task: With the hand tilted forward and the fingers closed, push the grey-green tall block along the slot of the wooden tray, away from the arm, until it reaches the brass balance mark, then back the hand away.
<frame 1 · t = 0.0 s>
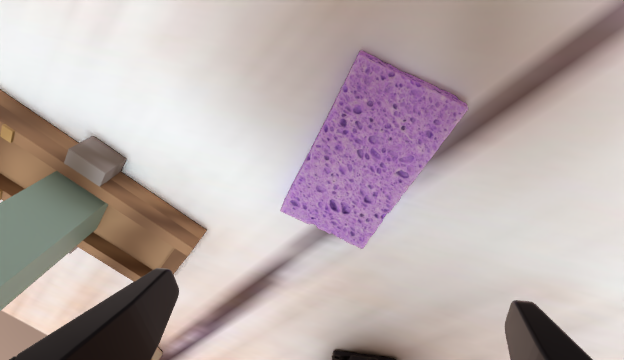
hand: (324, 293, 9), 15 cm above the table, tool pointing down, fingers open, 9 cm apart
grey-green tall block: (7, 251, 23), point 8 cm above the table, slide at 0.0 cm
wooden tray: (91, 191, 30), on the table
sponges: (363, 153, 24), on the table
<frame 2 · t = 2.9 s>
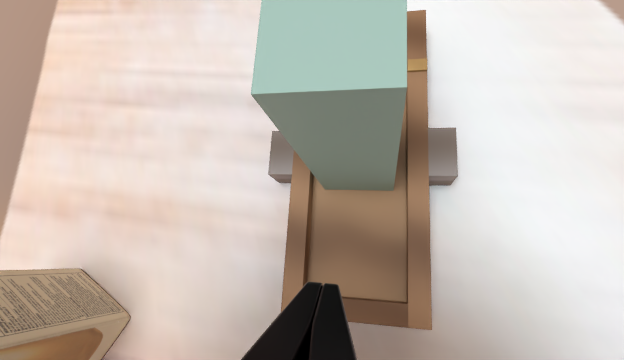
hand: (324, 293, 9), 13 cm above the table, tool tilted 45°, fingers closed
skincare box: (91, 316, 25), on the table
grey-green tall block: (350, 116, 16), point 8 cm above the table, slide at 0.0 cm
wooden tray: (360, 162, 23), on the table
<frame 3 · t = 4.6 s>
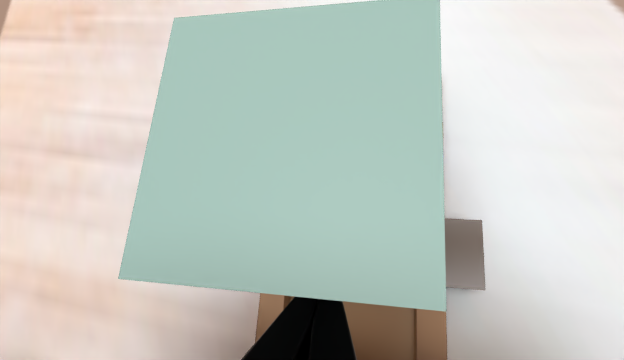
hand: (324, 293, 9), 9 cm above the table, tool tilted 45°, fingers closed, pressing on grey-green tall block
grey-green tall block: (337, 211, 11), point 8 cm above the table, slide at 0.7 cm, touching gripper
wooden tray: (354, 249, 18), on the table
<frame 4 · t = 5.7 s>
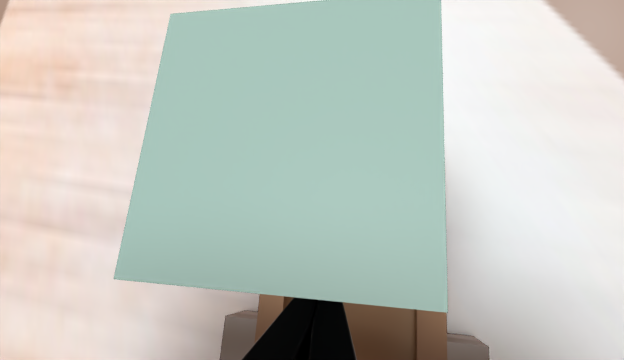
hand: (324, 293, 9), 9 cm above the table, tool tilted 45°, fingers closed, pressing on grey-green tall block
grey-green tall block: (337, 210, 11), point 8 cm above the table, slide at 5.9 cm, touching gripper
wooden tray: (349, 354, 17), on the table
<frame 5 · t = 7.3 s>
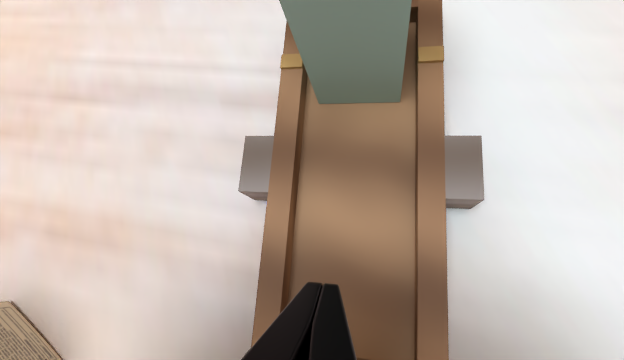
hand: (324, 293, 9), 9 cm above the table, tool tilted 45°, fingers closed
wooden tray: (356, 177, 19), on the table
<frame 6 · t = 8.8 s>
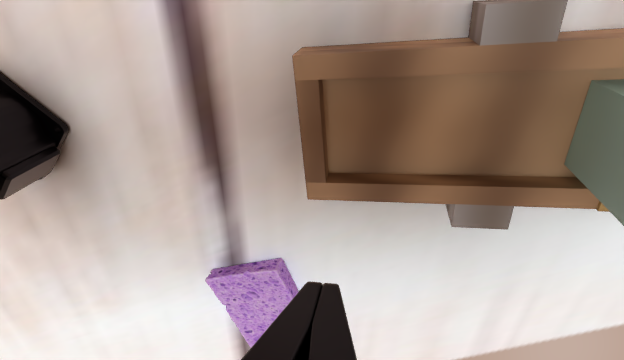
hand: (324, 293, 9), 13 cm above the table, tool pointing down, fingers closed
wooden tray: (486, 117, 19), on the table
sponges: (275, 306, 31), on the table
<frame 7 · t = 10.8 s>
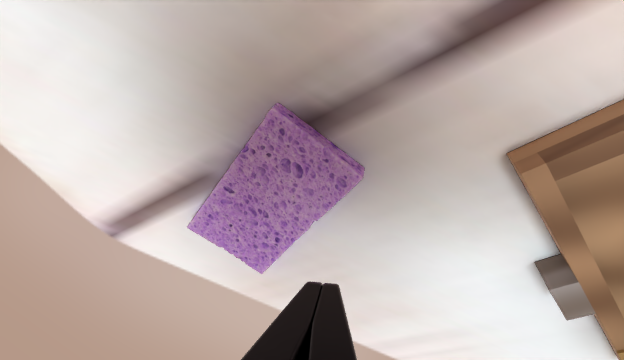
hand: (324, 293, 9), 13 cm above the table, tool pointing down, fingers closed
sponges: (273, 190, 25), on the table
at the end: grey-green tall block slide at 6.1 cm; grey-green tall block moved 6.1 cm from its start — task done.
